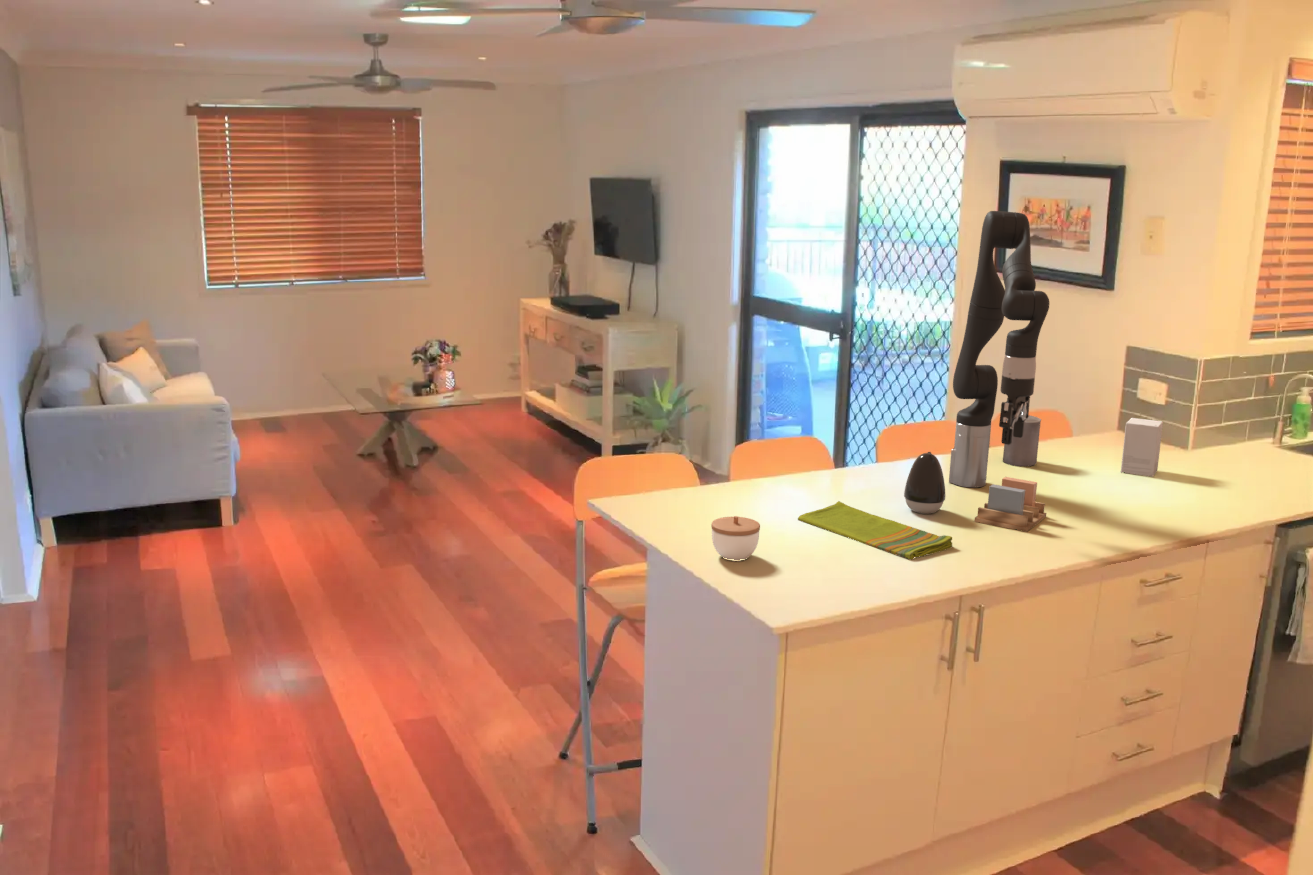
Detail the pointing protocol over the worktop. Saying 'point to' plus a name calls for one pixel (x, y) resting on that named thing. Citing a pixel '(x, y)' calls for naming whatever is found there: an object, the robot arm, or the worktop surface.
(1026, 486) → the terracotta plate
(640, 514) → the worktop surface
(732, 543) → the lidded jar
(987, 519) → the dish rack
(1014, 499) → the slate grey rectangular block
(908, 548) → the dish towel
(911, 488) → the black egg-shaped piece
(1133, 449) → the supplement box
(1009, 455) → the pillar candle
